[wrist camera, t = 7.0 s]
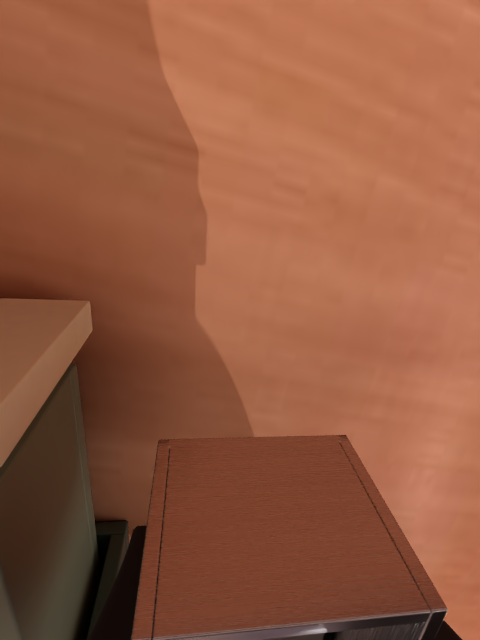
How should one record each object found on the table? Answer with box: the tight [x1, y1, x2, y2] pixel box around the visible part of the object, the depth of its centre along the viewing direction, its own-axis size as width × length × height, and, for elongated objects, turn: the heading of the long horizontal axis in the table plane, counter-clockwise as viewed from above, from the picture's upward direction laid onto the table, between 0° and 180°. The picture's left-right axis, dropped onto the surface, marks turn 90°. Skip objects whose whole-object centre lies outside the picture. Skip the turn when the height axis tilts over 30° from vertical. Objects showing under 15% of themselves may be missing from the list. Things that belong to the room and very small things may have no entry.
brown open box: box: [131, 435, 448, 640], centre depth 9 cm, size 5×7×4 cm
